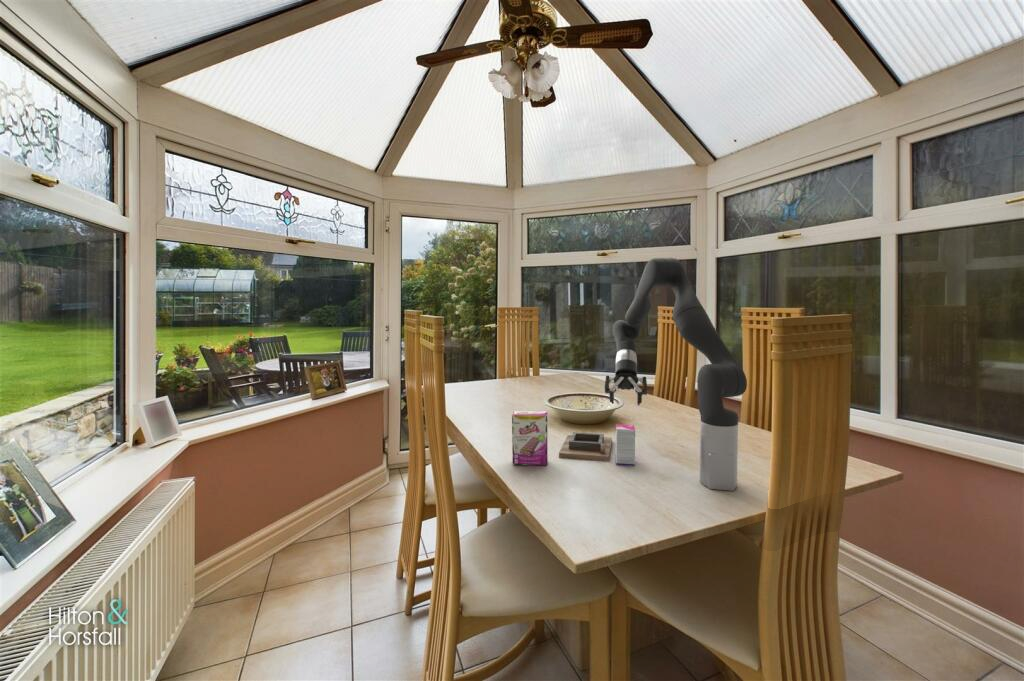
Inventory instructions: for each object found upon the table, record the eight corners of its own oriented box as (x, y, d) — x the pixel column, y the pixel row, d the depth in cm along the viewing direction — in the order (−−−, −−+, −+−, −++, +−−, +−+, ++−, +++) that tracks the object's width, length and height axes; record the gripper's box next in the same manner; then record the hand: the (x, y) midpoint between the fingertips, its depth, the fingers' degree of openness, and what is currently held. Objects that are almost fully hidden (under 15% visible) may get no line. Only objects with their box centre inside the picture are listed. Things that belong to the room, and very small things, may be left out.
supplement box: (635, 466, 132) (635, 429, 131) (615, 465, 133) (615, 429, 132) (634, 459, 138) (634, 424, 137) (615, 458, 139) (614, 424, 138)
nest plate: (608, 461, 137) (608, 447, 136) (559, 457, 141) (558, 443, 141) (611, 441, 156) (611, 429, 156) (568, 438, 160) (567, 427, 160)
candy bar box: (512, 465, 135) (511, 414, 133) (513, 460, 140) (512, 410, 138) (548, 466, 134) (547, 414, 132) (548, 460, 138) (547, 410, 137)
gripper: (605, 358, 154) (603, 396, 144) (647, 358, 151) (647, 398, 141) (606, 370, 160) (604, 408, 150) (646, 371, 156) (647, 410, 146)
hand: (625, 403), depth 145 cm, fingers open, 8 cm apart
